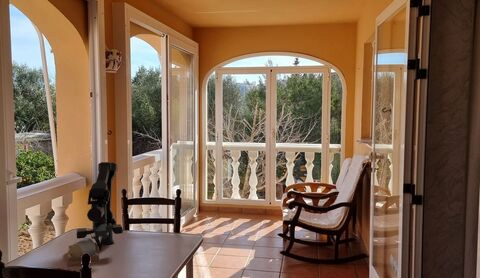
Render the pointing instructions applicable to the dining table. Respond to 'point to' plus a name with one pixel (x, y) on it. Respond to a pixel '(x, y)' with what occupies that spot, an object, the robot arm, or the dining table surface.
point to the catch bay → (78, 260)
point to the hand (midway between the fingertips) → (100, 250)
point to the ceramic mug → (83, 248)
